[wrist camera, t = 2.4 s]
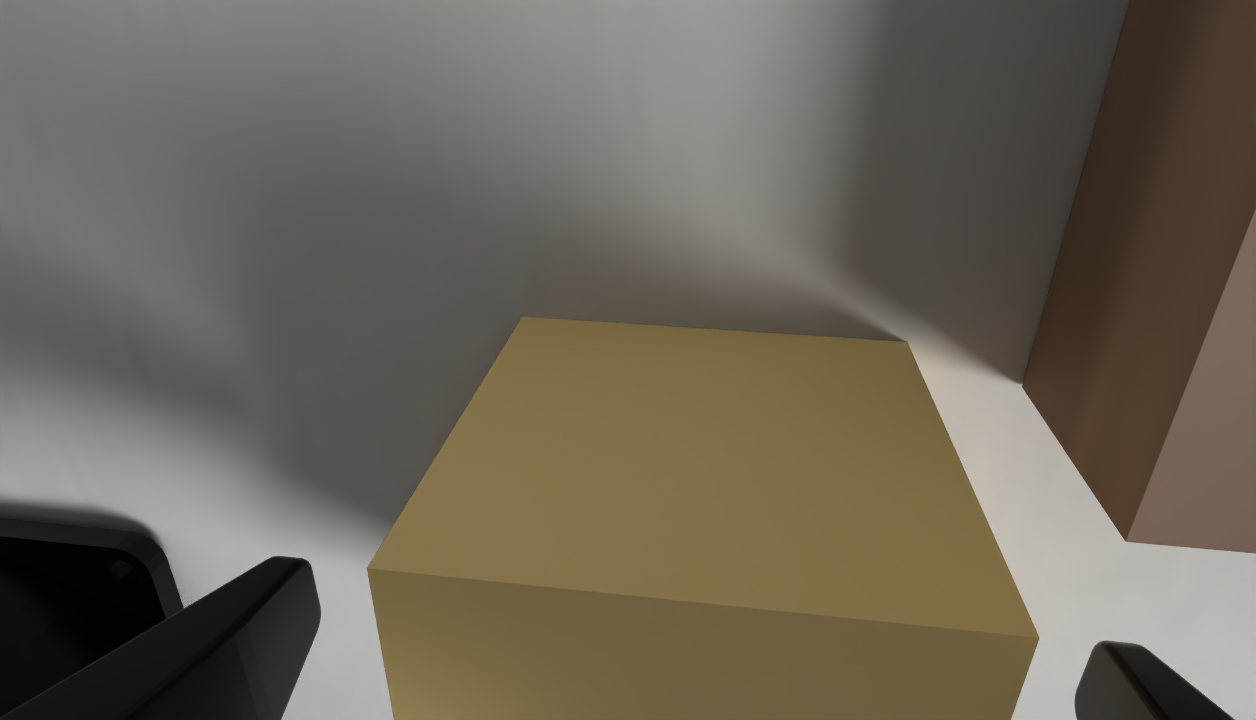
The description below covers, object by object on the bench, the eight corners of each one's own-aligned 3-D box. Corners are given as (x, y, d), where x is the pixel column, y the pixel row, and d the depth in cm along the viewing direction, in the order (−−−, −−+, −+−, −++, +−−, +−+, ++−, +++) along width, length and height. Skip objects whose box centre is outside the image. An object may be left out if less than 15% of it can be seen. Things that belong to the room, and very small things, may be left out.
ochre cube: (537, 594, 13) (430, 927, 8) (523, 314, 10) (367, 568, 6) (849, 625, 12) (911, 1000, 8) (905, 339, 10) (1040, 637, 6)
